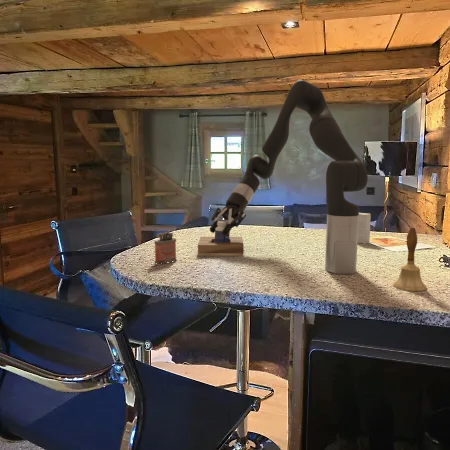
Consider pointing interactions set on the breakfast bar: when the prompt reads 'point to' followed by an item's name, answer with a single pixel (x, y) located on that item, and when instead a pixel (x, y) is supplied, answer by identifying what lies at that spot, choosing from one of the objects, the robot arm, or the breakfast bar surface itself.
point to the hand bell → (410, 268)
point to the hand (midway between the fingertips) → (217, 232)
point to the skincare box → (364, 228)
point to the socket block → (220, 247)
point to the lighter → (165, 248)
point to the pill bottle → (219, 235)
